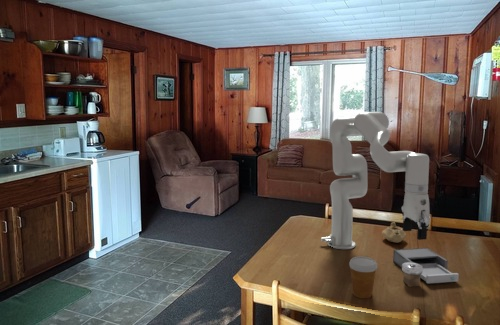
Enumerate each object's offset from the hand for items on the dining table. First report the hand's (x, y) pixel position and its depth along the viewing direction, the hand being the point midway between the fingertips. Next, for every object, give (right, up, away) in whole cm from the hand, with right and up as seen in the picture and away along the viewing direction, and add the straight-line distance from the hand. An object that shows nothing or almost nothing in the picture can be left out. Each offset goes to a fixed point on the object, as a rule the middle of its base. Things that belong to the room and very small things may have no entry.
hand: (414, 234), depth 143 cm
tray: (+10, -17, +8) cm, 21 cm away
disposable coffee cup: (-20, -20, -5) cm, 29 cm away
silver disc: (0, -13, +2) cm, 14 cm away
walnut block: (0, -18, +3) cm, 19 cm away
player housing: (+9, -16, +18) cm, 26 cm away
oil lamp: (+10, -12, +48) cm, 50 cm away
